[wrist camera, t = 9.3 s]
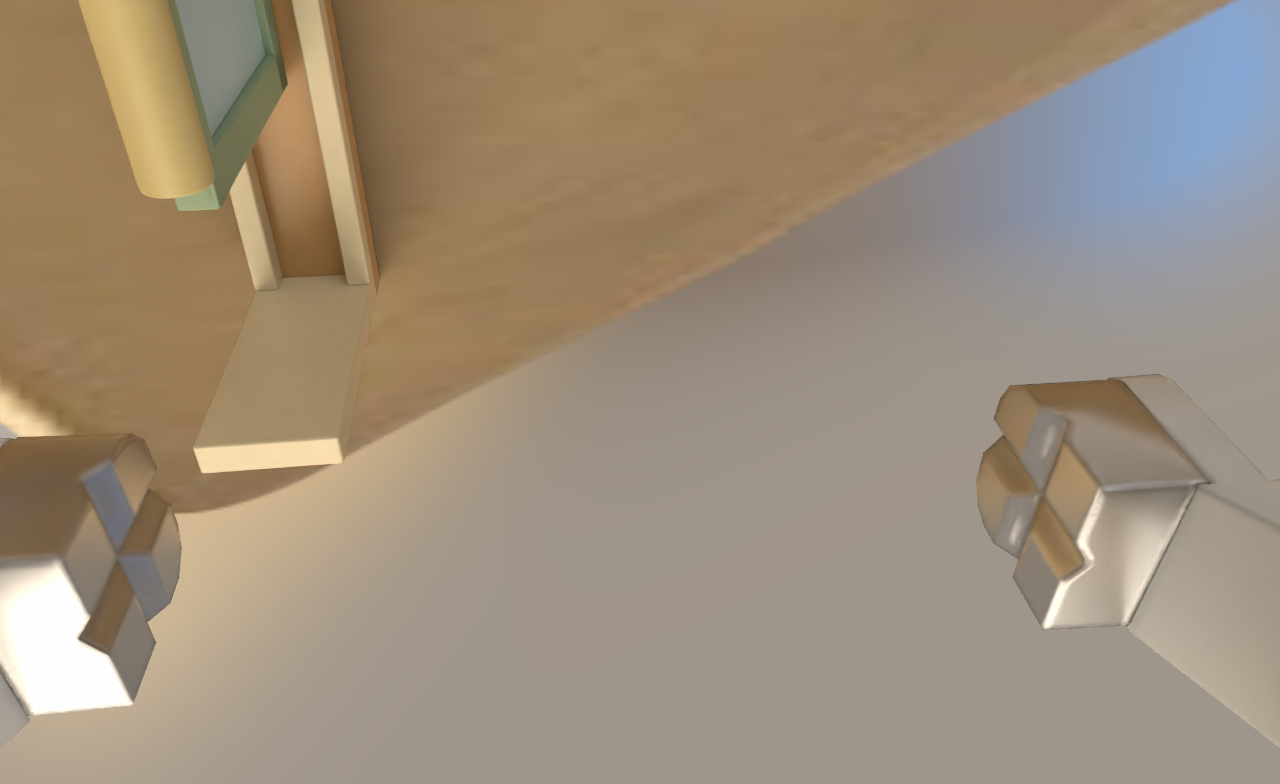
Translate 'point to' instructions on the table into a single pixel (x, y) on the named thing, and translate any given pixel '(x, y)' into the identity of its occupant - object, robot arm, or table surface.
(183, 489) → the table surface
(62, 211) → the table surface
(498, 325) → the table surface
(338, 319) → the window frame
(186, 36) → the cylinder
